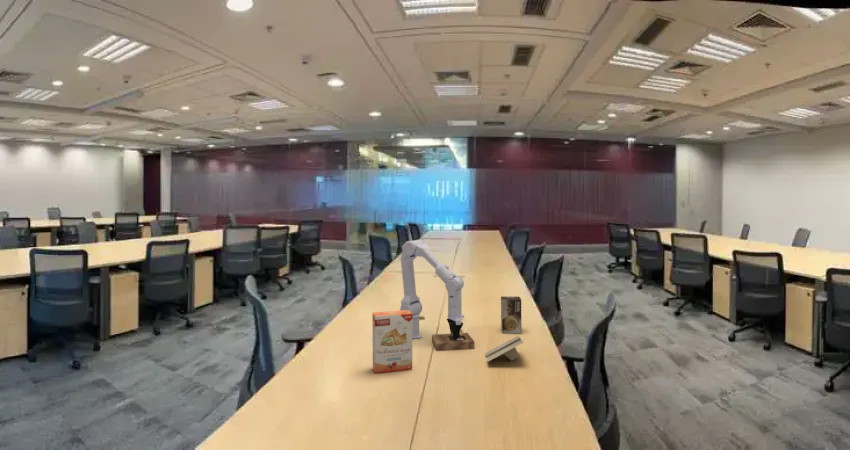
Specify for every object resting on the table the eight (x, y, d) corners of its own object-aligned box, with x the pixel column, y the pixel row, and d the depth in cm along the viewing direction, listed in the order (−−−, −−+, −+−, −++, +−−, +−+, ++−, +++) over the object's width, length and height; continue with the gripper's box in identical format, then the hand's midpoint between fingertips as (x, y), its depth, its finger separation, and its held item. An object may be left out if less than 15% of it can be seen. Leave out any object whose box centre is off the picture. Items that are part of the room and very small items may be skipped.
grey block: (453, 344, 177) (453, 330, 176) (451, 341, 180) (451, 327, 180) (464, 344, 177) (465, 330, 177) (462, 341, 181) (463, 327, 181)
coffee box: (520, 329, 200) (520, 296, 199) (521, 333, 193) (521, 299, 192) (500, 329, 200) (500, 296, 200) (501, 333, 194) (501, 299, 193)
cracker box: (374, 374, 148) (374, 316, 147) (372, 368, 154) (371, 311, 153) (413, 369, 152) (412, 312, 151) (409, 363, 158) (408, 309, 157)
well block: (436, 350, 171) (436, 343, 171) (431, 341, 183) (431, 334, 183) (474, 348, 174) (474, 341, 174) (467, 339, 186) (467, 332, 185)
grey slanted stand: (503, 380, 152) (534, 353, 152) (487, 361, 153) (517, 334, 153) (499, 369, 168) (527, 345, 168) (484, 352, 170) (512, 328, 170)
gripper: (468, 309, 171) (468, 341, 172) (460, 301, 186) (460, 331, 186) (451, 309, 170) (451, 342, 171) (444, 301, 185) (444, 332, 185)
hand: (454, 336), depth 179 cm, fingers closed on grey block, 4 cm apart
